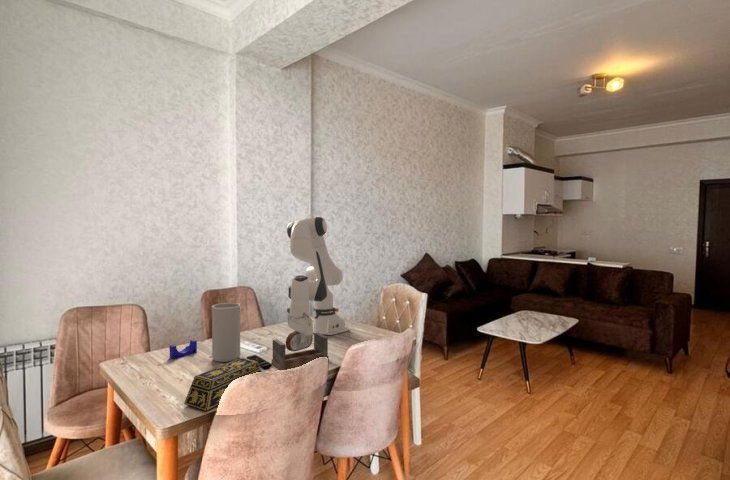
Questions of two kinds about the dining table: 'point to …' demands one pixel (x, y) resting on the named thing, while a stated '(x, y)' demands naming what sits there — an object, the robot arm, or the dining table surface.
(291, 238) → the robot arm
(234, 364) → the decorative box
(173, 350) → the cable clip
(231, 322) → the cylinder vase
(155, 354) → the dining table surface
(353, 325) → the dining table surface
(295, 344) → the tin
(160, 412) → the dining table surface
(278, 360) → the holder
